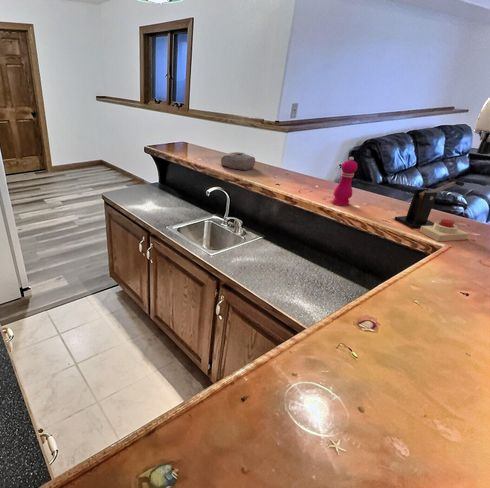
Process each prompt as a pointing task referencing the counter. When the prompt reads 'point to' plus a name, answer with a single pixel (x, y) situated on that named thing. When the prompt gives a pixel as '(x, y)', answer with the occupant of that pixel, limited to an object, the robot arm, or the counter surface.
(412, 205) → the lever bracket
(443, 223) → the button
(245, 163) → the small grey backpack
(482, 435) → the counter surface
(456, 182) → the toaster lever
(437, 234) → the button block
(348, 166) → the pepper mill
